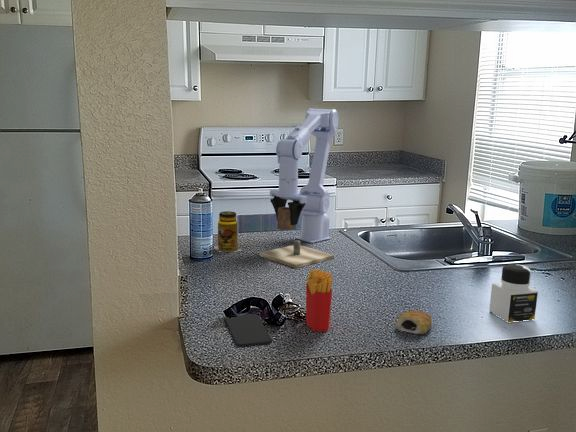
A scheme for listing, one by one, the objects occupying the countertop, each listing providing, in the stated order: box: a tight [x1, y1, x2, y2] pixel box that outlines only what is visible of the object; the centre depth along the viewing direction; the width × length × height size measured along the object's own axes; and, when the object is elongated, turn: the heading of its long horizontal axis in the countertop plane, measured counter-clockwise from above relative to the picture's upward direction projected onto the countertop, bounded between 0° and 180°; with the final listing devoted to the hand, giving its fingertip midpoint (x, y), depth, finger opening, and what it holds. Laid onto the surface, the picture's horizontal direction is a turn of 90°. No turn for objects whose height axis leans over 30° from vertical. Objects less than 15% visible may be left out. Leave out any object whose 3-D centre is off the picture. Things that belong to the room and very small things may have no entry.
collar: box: [276, 206, 297, 231], centre depth 175 cm, size 6×6×6 cm
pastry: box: [394, 310, 432, 335], centre depth 123 cm, size 9×7×4 cm
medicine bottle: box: [488, 263, 539, 322], centre depth 129 cm, size 7×7×12 cm
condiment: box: [213, 210, 244, 254], centre depth 178 cm, size 7×8×12 cm
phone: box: [224, 313, 273, 348], centre depth 119 cm, size 7×1×15 cm
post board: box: [258, 239, 335, 269], centre depth 172 cm, size 16×16×5 cm
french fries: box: [305, 268, 334, 332], centre depth 121 cm, size 8×4×12 cm, turn 21°
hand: (287, 222), depth 175 cm, fingers closed on collar, 6 cm apart
